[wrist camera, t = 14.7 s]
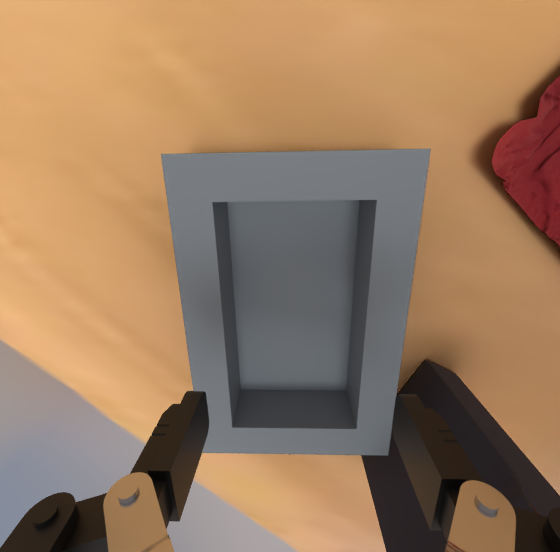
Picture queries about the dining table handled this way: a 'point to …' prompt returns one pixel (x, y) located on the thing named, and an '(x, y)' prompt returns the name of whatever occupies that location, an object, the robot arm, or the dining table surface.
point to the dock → (296, 292)
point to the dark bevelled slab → (478, 447)
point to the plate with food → (534, 163)
